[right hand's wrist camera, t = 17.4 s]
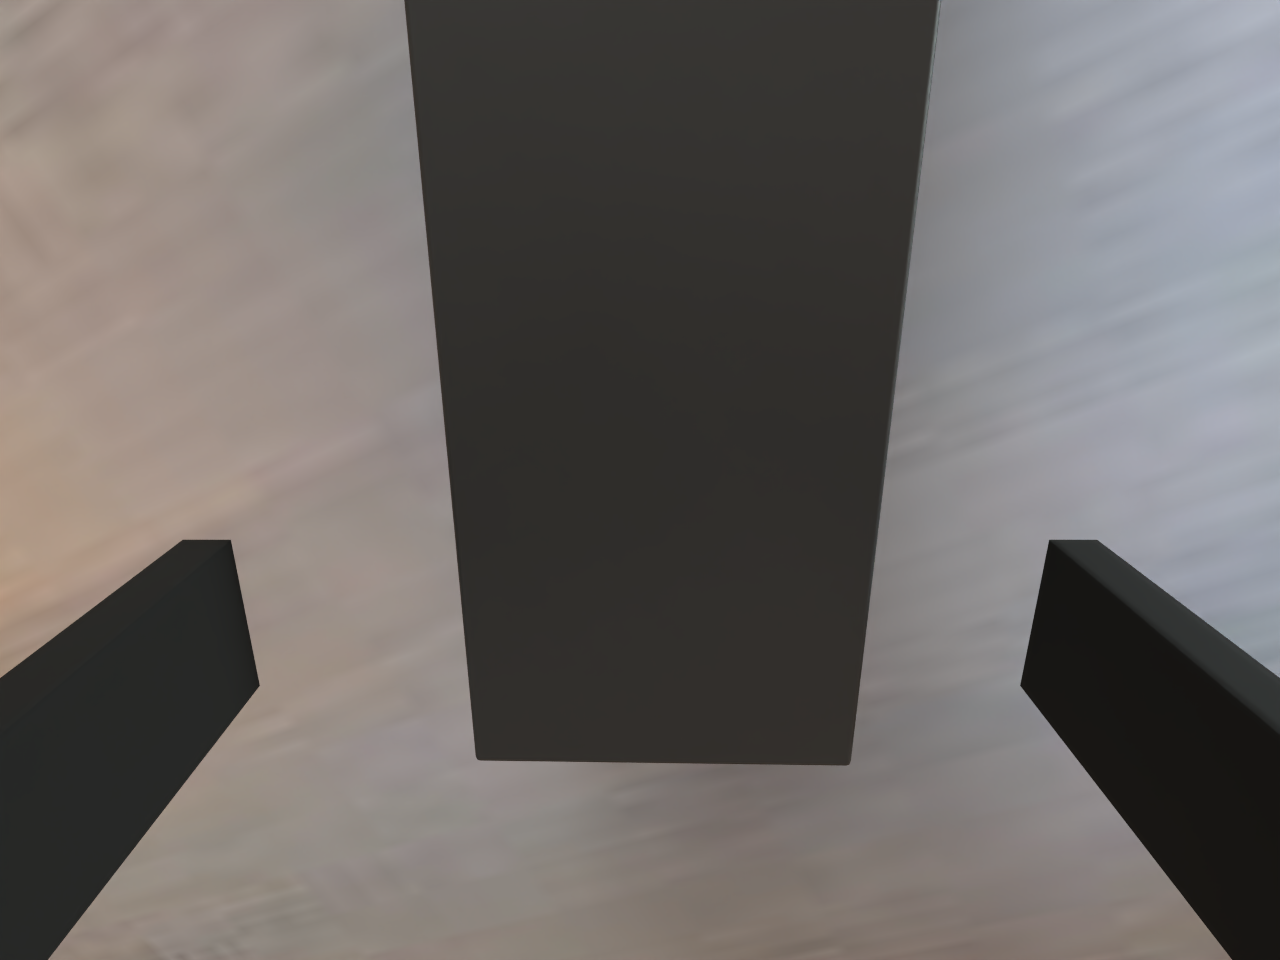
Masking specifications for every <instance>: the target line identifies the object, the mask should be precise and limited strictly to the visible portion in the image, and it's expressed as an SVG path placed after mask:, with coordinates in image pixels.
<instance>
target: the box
mask: <svg viewBox="0 0 1280 960" xmlns="http://www.w3.org/2000/svg"><path fill="white" fill-rule="evenodd" d="M404 1H405V11H406V22H407V32H408V43H409V54H410V64H411V75H412V85H413V96H414V106H415V117H416V128H417V138H418V149H419V159H420V170H421V181H422V191H423V202H424V212H425V223H426V233H427V244H428V255H429V265H430V276H431V286H432V297H433V308H434V318H435V329H436V339H437V350H438V360H439V371H440V382H441V392H442V403H443V413H444V424H445V435H446V445H447V456H448V466H449V477H450V487H451V498H452V509H453V519H454V530H455V540H456V551H457V562H458V572H459V583H460V593H461V604H462V614H463V625H464V636H465V646H466V657H467V667H468V678H469V688H470V699H471V710H472V720H473V731H474V741H475V752H476V758H477V759H478V760H491V761H564V762H637V763H709V764H782V765H849V764H850V761H851V754H852V745H853V737H854V728H855V720H856V712H857V703H858V695H859V686H860V678H861V670H862V661H863V653H864V644H865V636H866V628H867V619H868V611H869V602H870V594H871V585H872V577H873V569H874V560H875V552H876V543H877V535H878V527H879V518H880V510H881V501H882V493H883V485H884V476H885V468H886V459H887V451H888V443H889V434H890V426H891V417H892V409H893V400H894V392H895V384H896V375H897V367H898V358H899V350H900V342H901V333H902V325H903V316H904V308H905V300H906V291H907V283H908V274H909V266H910V257H911V249H912V241H913V232H914V224H915V215H916V207H917V199H918V190H919V182H920V173H921V165H922V157H923V148H924V140H925V131H926V123H927V114H928V106H929V98H930V89H931V81H932V72H933V64H934V56H935V47H936V39H937V30H938V22H939V14H940V5H941V0H404Z"/></svg>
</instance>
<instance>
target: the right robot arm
mask: <svg viewBox="0 0 1280 960" xmlns="http://www.w3.org/2000/svg"><path fill="white" fill-rule="evenodd" d="M259 686H260V685H259V680H258V675H257V670H256V665H255V660H254V655H253V650H252V645H251V640H250V635H249V630H248V625H247V619H246V614H245V609H244V604H243V599H242V594H241V589H240V584H239V579H238V574H237V569H236V564H235V559H234V554H233V549H232V544H231V540H182V541H181V542H180V543H178V544H177V545H176V546H174V547H173V548H172V549H170V550H169V551H168V552H166V553H165V554H164V555H162V556H161V557H160V558H158V559H157V560H156V561H154V562H153V563H152V564H150V565H149V566H148V567H146V568H145V569H144V570H143V571H141V572H140V573H139V574H137V575H136V576H135V577H133V578H132V579H131V580H129V581H128V582H127V583H125V584H124V585H123V586H121V587H120V588H119V589H117V590H116V591H115V592H113V593H112V594H111V595H109V596H108V597H107V598H106V599H104V600H103V601H102V602H100V603H99V604H98V605H96V606H95V607H94V608H92V609H91V610H90V611H88V612H87V613H86V614H84V615H83V616H82V617H80V618H79V619H78V620H76V621H75V622H74V623H73V624H71V625H70V626H69V627H67V628H66V629H65V630H63V631H62V632H61V633H59V634H58V635H57V636H55V637H54V638H53V639H51V640H50V641H49V642H47V643H46V644H45V645H43V646H42V647H41V648H39V649H38V650H37V651H36V652H34V653H33V654H32V655H30V656H29V657H28V658H26V659H25V660H24V661H22V662H21V663H20V664H18V665H17V666H16V667H14V668H13V669H12V670H10V671H9V672H8V673H6V674H5V675H4V676H3V677H1V678H0V960H48V959H49V957H50V956H51V955H52V954H53V952H54V951H55V950H56V948H57V947H58V946H59V944H60V943H61V942H62V941H63V939H64V938H65V937H66V935H67V934H68V933H69V932H70V930H71V929H72V928H73V926H74V925H75V924H76V922H77V921H78V920H79V919H80V917H81V916H82V915H83V913H84V912H85V911H86V910H87V908H88V907H89V906H90V904H91V903H92V902H93V901H94V899H95V898H96V897H97V895H98V894H99V893H100V891H101V890H102V889H103V888H104V886H105V885H106V884H107V882H108V881H109V880H110V879H111V877H112V876H113V875H114V873H115V872H116V871H117V869H118V868H119V867H120V866H121V864H122V863H123V862H124V860H125V859H126V858H127V857H128V855H129V854H130V853H131V851H132V850H133V849H134V847H135V846H136V845H137V844H138V842H139V841H140V840H141V838H142V837H143V836H144V835H145V833H146V832H147V831H148V829H149V828H150V827H151V826H152V824H153V823H154V822H155V820H156V819H157V818H158V816H159V815H160V814H161V813H162V811H163V810H164V809H165V807H166V806H167V805H168V804H169V802H170V801H171V800H172V798H173V797H174V796H175V794H176V793H177V792H178V791H179V789H180V788H181V787H182V785H183V784H184V783H185V782H186V780H187V779H188V778H189V776H190V775H191V774H192V772H193V771H194V770H195V769H196V767H197V766H198V765H199V763H200V762H201V761H202V760H203V758H204V757H205V756H206V754H207V753H208V752H209V751H210V749H211V748H212V747H213V745H214V744H215V743H216V741H217V740H218V739H219V738H220V736H221V735H222V734H223V732H224V731H225V730H226V729H227V727H228V726H229V725H230V723H231V722H232V721H233V719H234V718H235V717H236V716H237V714H238V713H239V712H240V710H241V709H242V708H243V707H244V705H245V704H246V703H247V701H248V700H249V699H250V698H251V696H252V695H253V694H254V692H255V691H256V690H257V688H258V687H259ZM1020 686H1021V687H1022V688H1023V690H1024V691H1025V692H1026V694H1027V695H1028V696H1029V698H1030V699H1031V700H1032V701H1033V703H1034V704H1035V705H1036V707H1037V708H1038V709H1039V710H1040V712H1041V713H1042V714H1043V716H1044V717H1045V718H1046V719H1047V721H1048V722H1049V723H1050V725H1051V726H1052V727H1053V729H1054V730H1055V731H1056V732H1057V734H1058V735H1059V736H1060V738H1061V739H1062V740H1063V741H1064V743H1065V744H1066V745H1067V747H1068V748H1069V749H1070V751H1071V752H1072V753H1073V754H1074V756H1075V757H1076V758H1077V760H1078V761H1079V762H1080V763H1081V765H1082V766H1083V767H1084V769H1085V770H1086V771H1087V773H1088V774H1089V775H1090V776H1091V778H1092V779H1093V780H1094V782H1095V783H1096V784H1097V785H1098V787H1099V788H1100V789H1101V791H1102V792H1103V793H1104V794H1105V796H1106V797H1107V798H1108V800H1109V801H1110V802H1111V804H1112V805H1113V806H1114V807H1115V809H1116V810H1117V811H1118V813H1119V814H1120V815H1121V816H1122V818H1123V819H1124V820H1125V822H1126V823H1127V824H1128V826H1129V827H1130V828H1131V829H1132V831H1133V832H1134V833H1135V835H1136V836H1137V837H1138V838H1139V840H1140V841H1141V842H1142V844H1143V845H1144V846H1145V847H1146V849H1147V850H1148V851H1149V853H1150V854H1151V855H1152V857H1153V858H1154V859H1155V860H1156V862H1157V863H1158V864H1159V866H1160V867H1161V868H1162V869H1163V871H1164V872H1165V873H1166V875H1167V876H1168V877H1169V879H1170V880H1171V881H1172V882H1173V884H1174V885H1175V886H1176V888H1177V889H1178V890H1179V891H1180V893H1181V894H1182V895H1183V897H1184V898H1185V899H1186V901H1187V902H1188V903H1189V904H1190V906H1191V907H1192V908H1193V910H1194V911H1195V912H1196V913H1197V915H1198V916H1199V917H1200V919H1201V920H1202V921H1203V922H1204V924H1205V925H1206V926H1207V928H1208V929H1209V930H1210V932H1211V933H1212V934H1213V935H1214V937H1215V938H1216V939H1217V941H1218V942H1219V943H1220V944H1221V946H1222V947H1223V948H1224V950H1225V951H1226V952H1227V954H1228V955H1229V956H1230V957H1231V959H1232V960H1280V678H1279V677H1277V676H1276V675H1275V674H1274V673H1272V672H1271V671H1270V670H1268V669H1267V668H1266V667H1264V666H1263V665H1262V664H1260V663H1259V662H1258V661H1256V660H1255V659H1254V658H1252V657H1251V656H1250V655H1248V654H1247V653H1246V652H1244V651H1243V650H1242V649H1241V648H1239V647H1238V646H1237V645H1235V644H1234V643H1233V642H1231V641H1230V640H1229V639H1227V638H1226V637H1225V636H1223V635H1222V634H1221V633H1219V632H1218V631H1217V630H1215V629H1214V628H1213V627H1211V626H1210V625H1209V624H1207V623H1206V622H1205V621H1204V620H1202V619H1201V618H1200V617H1198V616H1197V615H1196V614H1194V613H1193V612H1192V611H1190V610H1189V609H1188V608H1186V607H1185V606H1184V605H1182V604H1181V603H1180V602H1178V601H1177V600H1176V599H1174V598H1173V597H1172V596H1170V595H1169V594H1168V593H1167V592H1165V591H1164V590H1163V589H1161V588H1160V587H1159V586H1157V585H1156V584H1155V583H1153V582H1152V581H1151V580H1149V579H1148V578H1147V577H1145V576H1144V575H1143V574H1141V573H1140V572H1139V571H1137V570H1136V569H1135V568H1134V567H1132V566H1131V565H1130V564H1128V563H1127V562H1126V561H1124V560H1123V559H1122V558H1120V557H1119V556H1118V555H1116V554H1115V553H1114V552H1112V551H1111V550H1110V549H1108V548H1107V547H1106V546H1104V545H1103V544H1102V543H1100V542H1099V541H1098V540H1049V544H1048V549H1047V554H1046V559H1045V564H1044V569H1043V574H1042V579H1041V584H1040V589H1039V594H1038V599H1037V604H1036V609H1035V614H1034V619H1033V625H1032V630H1031V635H1030V640H1029V645H1028V650H1027V655H1026V660H1025V665H1024V670H1023V675H1022V680H1021V685H1020Z"/></svg>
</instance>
